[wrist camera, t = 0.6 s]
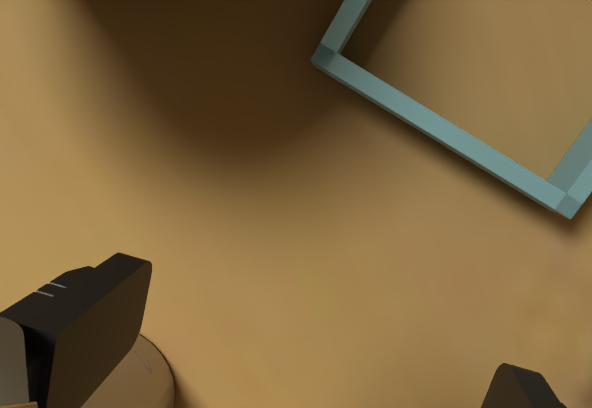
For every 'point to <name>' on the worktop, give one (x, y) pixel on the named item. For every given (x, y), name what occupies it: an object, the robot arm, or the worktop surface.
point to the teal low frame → (550, 194)
